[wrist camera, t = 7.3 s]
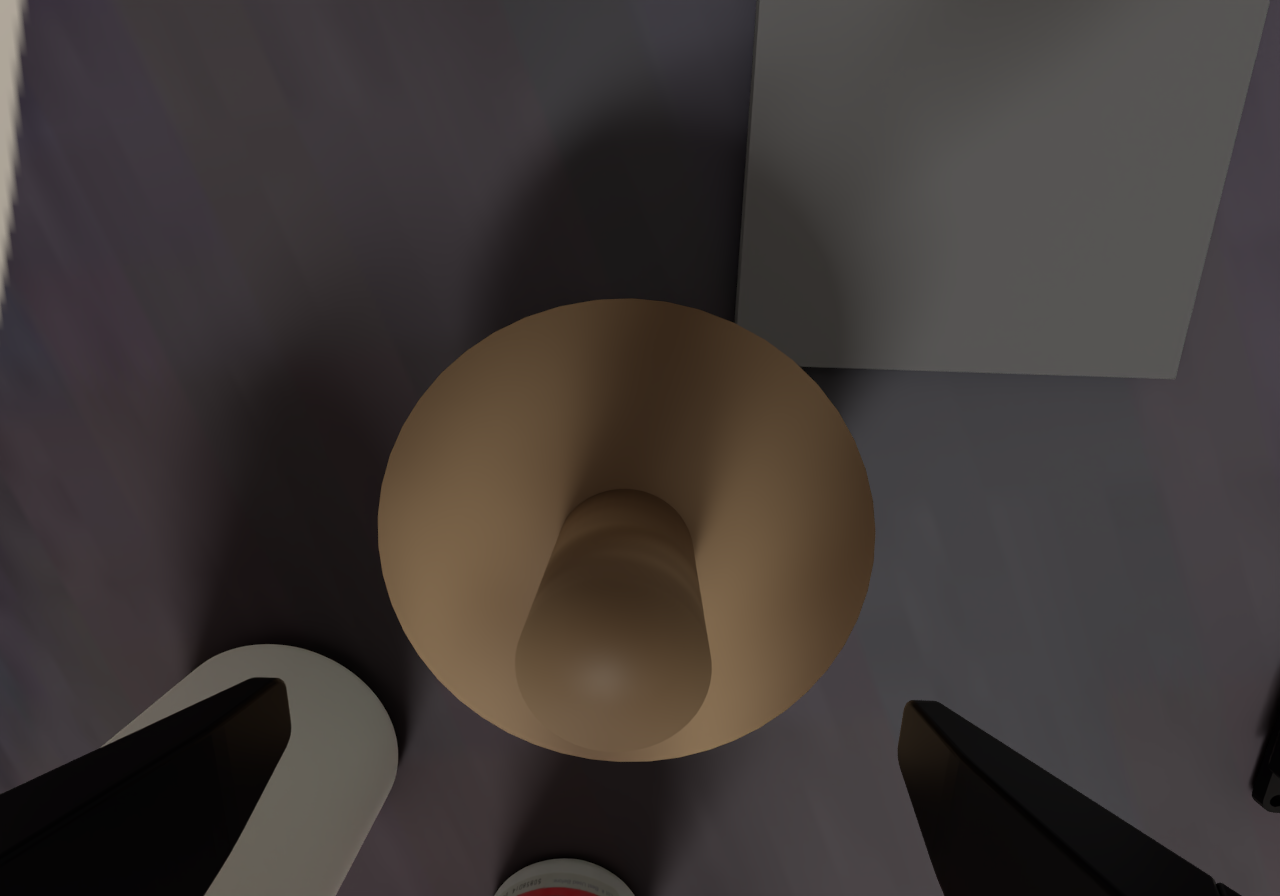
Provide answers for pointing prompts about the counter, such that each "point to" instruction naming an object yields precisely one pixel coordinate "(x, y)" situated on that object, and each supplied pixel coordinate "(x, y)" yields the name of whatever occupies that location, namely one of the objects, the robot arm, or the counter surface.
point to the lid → (626, 530)
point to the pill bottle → (564, 880)
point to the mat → (987, 180)
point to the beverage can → (300, 770)
